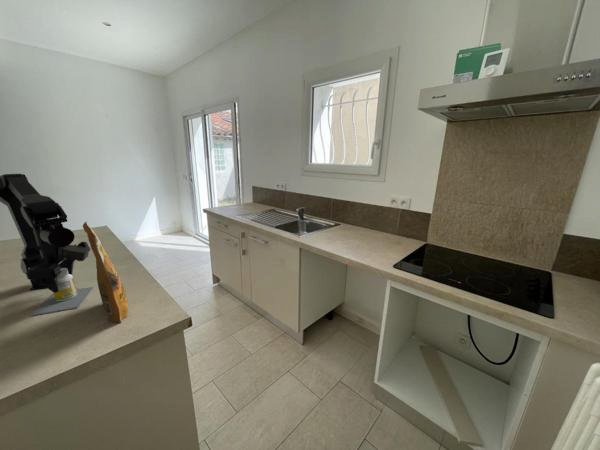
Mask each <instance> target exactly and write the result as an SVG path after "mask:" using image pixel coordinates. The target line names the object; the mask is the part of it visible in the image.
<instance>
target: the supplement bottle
mask: <svg viewBox="0 0 600 450" xmlns="http://www.w3.org/2000/svg"><path fill="white" fill-rule="evenodd" d="M60 271H62V272H61V273H60V274H59V275H58V276H57V279H58V292H55V293H54V292H52V293H54V296H55V299H56V301H65V300H69V299H71V298H73V297H75V296H76V295H77V290H76V289H77V288H76V284H75V280H74V277H73V274H72V275H71V274H68V273H69V272H68V269H67V268H62V269H60Z"/></svg>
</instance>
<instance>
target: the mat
mask: <svg viewBox="0 0 600 450" xmlns="http://www.w3.org/2000/svg"><path fill="white" fill-rule="evenodd" d="M93 288H94V286H87V287H81V288H76V290H77V295H76V296H75V297H73V298H71V299H69V300H65V301H56V299H55V296H54V293H53V292H52V293H51V294H50V295H49V296H48V297H47V298H46V299H45V300H44V301H43V302H42V303H41V304H40V305H39V306H38V307H37V308H36V309H35V310H34V311H33V312H32V313H31V314H30V317H34V316H40V315H47V314H53V313H58V312H63V311H69V310H74V309H78V308H79V307H80V306H81V305H82V303H83V302H84V301H85V299H86V298H87V296H88V295H89V294H90V293H91V291H92V290H93Z"/></svg>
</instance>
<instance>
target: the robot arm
mask: <svg viewBox="0 0 600 450" xmlns="http://www.w3.org/2000/svg"><path fill="white" fill-rule="evenodd" d="M0 203H2V204H4V205H5V206H7V208H8V211H9V213H10V215H11V217H12V220H13V222H14V225H15V228H16V230H17V232H18V234H19V236H20V239H21V241H22V243H23V245H24V247H23V249H22V251H21V259H20V269H21V271H22V273H23V274H25V276H26V278H27V280H29V281H30V283H31V287H29V291H33V290H41V289H46V288H47V289H48V290H49V291H51V292H52V293H53V292H54V293H55V292H58V279H57V276H58V275H59V274H60V273H61V272H62V271H60V269H62V268H67V269H68V272H69V273H68V274H71V275H72V276H73V272H74V271H73V270H74V264H75V261H76V262H83V261H85V260H86V259H87V258H88V257H89V253H90V252H91V250H92V249H91V246H89V244H88V242H87V241H81V242H79V243H78V244H72V243H73V242H74V240H75V237H76V236H75V233H74V231H73V230H71V229H70V228H67V227H65V226H64V224H63V223H66V222H67V223H68V215H67V214H66V212H65V210H64V209H63V208H62V207H63V206H61V205H60V204H59V203H58V202H56V201H55V200H54V199H52V197H50V196H47V195H42V194H40V192H39V191H38V190H37V189H36V188H35V187H34V186H33V185H32V184H31V183H30V181H29V180H28V178H27V176H26V174H25V173H4V174H1V175H0Z"/></svg>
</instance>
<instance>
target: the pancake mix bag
mask: <svg viewBox="0 0 600 450" xmlns="http://www.w3.org/2000/svg"><path fill="white" fill-rule="evenodd" d="M82 228H83V230H84V232H85V234H86V235H87V239H88V242H89V244H90V249H91V250H92V253H93V255H94V257H95V266H96V267H95V268H96V280H97V287H98V292H99V295H100V299H101V302H102V305H103V309H104V311H105V313H106V316H107V317H108V321H109V322H111V323H122V320H124V319H125V318H127V316H128V314H129V305H128V297H127V294H126V292H127V291H126V289H125V287H124V284H123V281H122V279H121V278H120V275H119V274H118V272H117V270H116V268H115V266H114V264H113V263H112V261H111V259H110V256H109V255H108V254H107V252H106V250H105V249H104V247H103V245H102V243H101V240H100V239H99V238H98V236H97V234H96V233H95V231H94V230H93V229H92V228H91V227H90V226H89V225H88V221H84V223H83V224H82Z"/></svg>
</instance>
